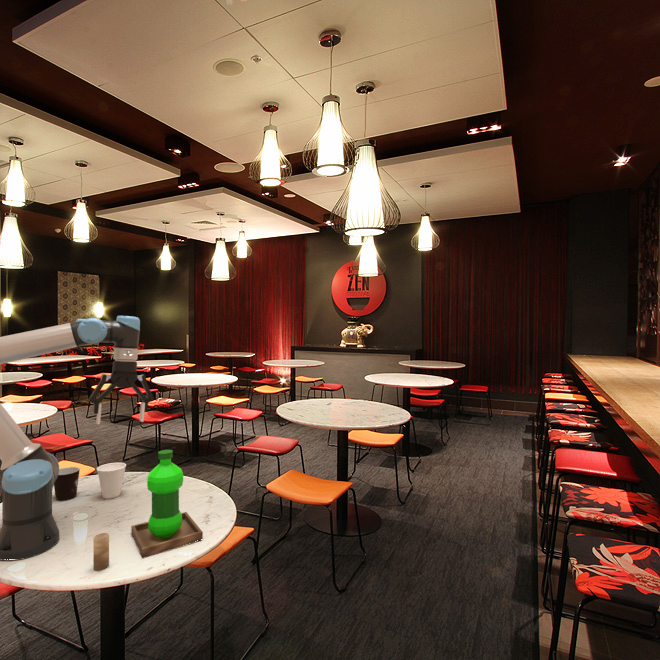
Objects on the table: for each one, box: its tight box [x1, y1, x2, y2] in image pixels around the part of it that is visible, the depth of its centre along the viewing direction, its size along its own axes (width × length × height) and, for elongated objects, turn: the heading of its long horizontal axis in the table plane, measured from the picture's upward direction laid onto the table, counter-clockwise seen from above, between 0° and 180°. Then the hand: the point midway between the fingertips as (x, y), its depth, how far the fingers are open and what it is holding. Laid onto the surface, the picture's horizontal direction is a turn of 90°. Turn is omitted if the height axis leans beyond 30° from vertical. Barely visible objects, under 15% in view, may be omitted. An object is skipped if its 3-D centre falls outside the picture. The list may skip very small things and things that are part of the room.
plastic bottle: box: [146, 449, 184, 538], centre depth 124 cm, size 10×10×25 cm
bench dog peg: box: [92, 532, 110, 572], centre depth 108 cm, size 4×4×8 cm
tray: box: [130, 511, 204, 559], centre depth 124 cm, size 17×17×2 cm
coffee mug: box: [53, 466, 81, 502], centre depth 154 cm, size 12×9×10 cm
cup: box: [96, 462, 127, 500], centre depth 155 cm, size 10×10×11 cm
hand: (120, 422), depth 141 cm, fingers open, 13 cm apart
